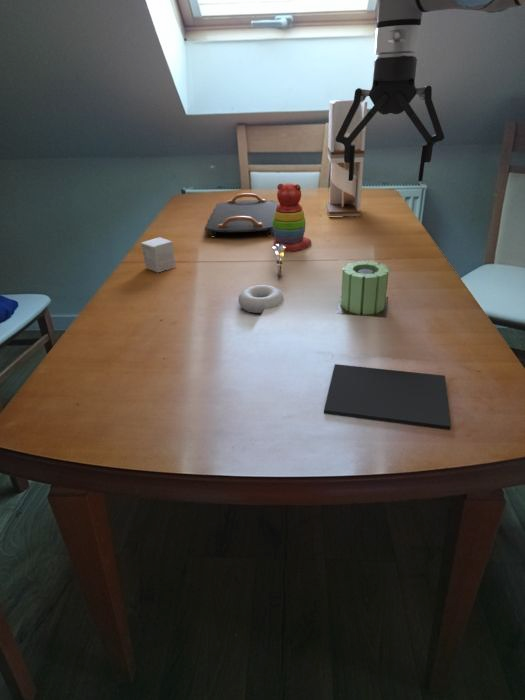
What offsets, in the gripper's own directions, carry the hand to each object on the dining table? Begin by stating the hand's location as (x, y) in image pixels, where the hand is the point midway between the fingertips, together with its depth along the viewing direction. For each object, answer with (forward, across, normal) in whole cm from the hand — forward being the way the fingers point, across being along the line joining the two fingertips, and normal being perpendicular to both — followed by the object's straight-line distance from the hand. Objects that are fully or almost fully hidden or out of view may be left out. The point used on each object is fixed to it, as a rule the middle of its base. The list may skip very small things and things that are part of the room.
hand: (384, 179), depth 94 cm
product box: (+25, -57, +7) cm, 62 cm away
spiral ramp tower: (+24, -15, +67) cm, 72 cm away
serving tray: (+24, -47, +52) cm, 74 cm away
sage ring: (+23, -2, -10) cm, 26 cm away
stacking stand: (+25, -2, -10) cm, 27 cm away
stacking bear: (+24, -26, +29) cm, 46 cm away
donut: (+25, -24, -11) cm, 36 cm away
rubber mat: (+25, +4, -40) cm, 47 cm away
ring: (+25, -24, +7) cm, 35 cm away
